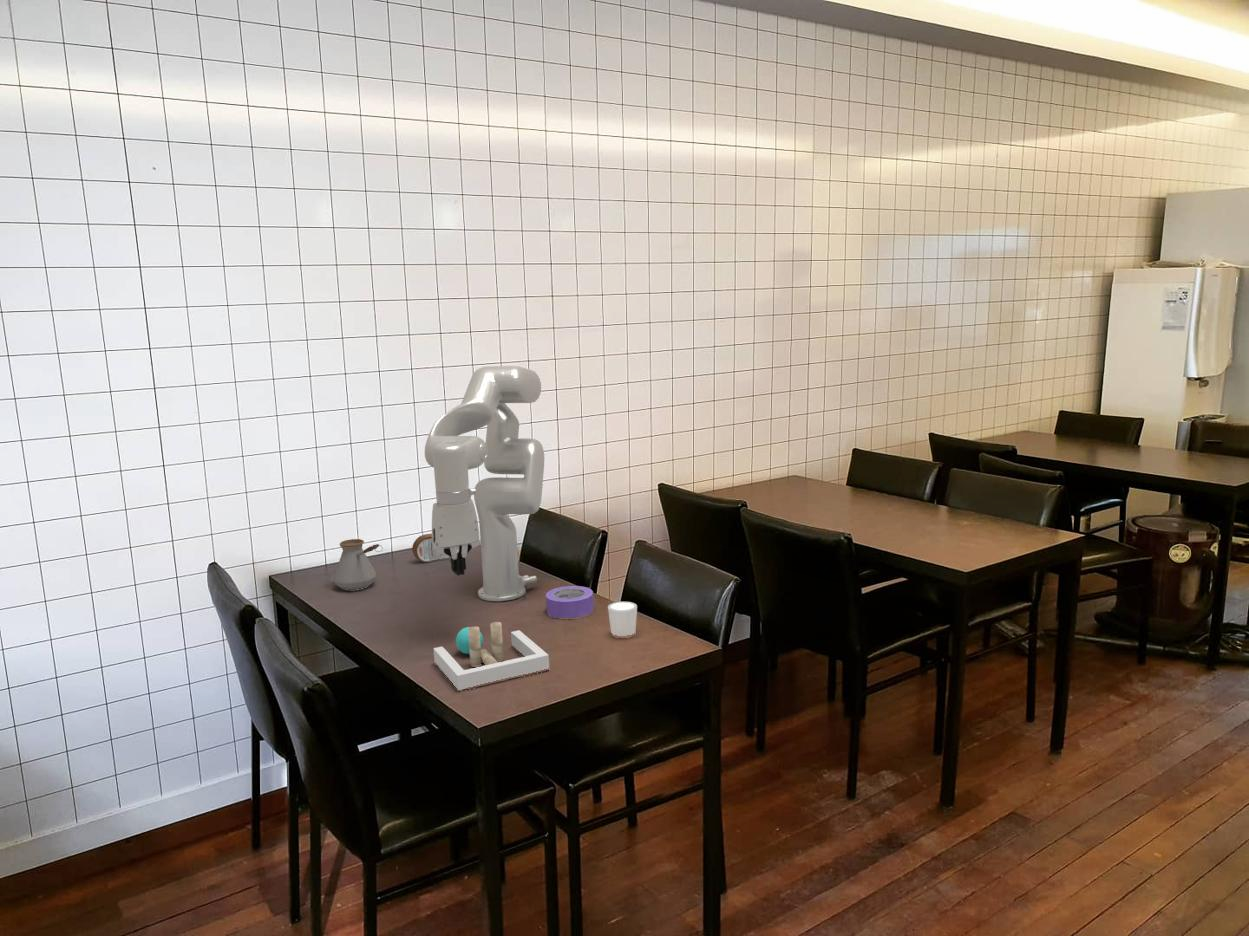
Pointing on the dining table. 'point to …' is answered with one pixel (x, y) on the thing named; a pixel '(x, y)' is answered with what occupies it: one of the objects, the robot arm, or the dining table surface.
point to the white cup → (622, 618)
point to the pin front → (487, 657)
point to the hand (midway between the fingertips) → (459, 573)
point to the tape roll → (569, 602)
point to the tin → (427, 549)
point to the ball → (465, 640)
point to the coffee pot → (354, 566)
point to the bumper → (497, 671)
